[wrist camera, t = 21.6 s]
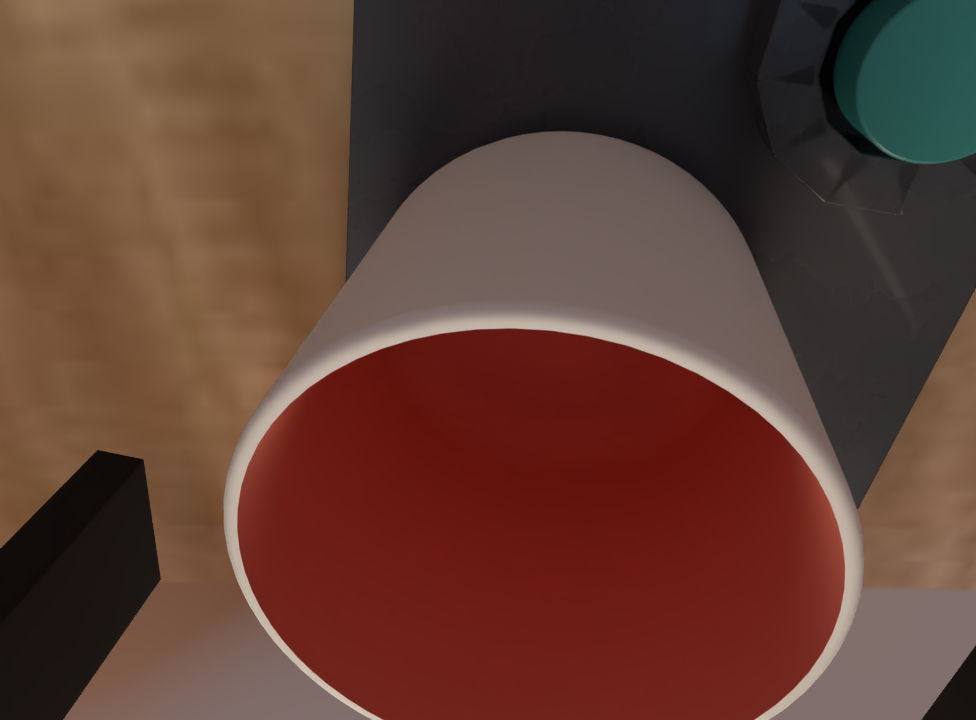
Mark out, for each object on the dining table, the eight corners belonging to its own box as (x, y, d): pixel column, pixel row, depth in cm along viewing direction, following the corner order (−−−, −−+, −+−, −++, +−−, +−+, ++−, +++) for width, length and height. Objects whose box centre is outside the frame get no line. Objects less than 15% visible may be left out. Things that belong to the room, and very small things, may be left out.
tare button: (961, 153, 16) (998, 178, 14) (809, 127, 16) (829, 150, 14) (1040, -15, 14) (1091, -6, 12) (869, -41, 14) (899, -36, 13)
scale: (838, 493, 24) (866, 562, 21) (353, 401, 25) (324, 457, 22) (1132, -85, 15) (1235, -85, 13) (377, -196, 16) (334, -216, 14)
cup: (684, 45, 16) (764, 185, 8) (794, 398, 21) (924, 736, 12) (314, 208, 20) (92, 431, 11) (474, 485, 24) (400, 800, 15)
